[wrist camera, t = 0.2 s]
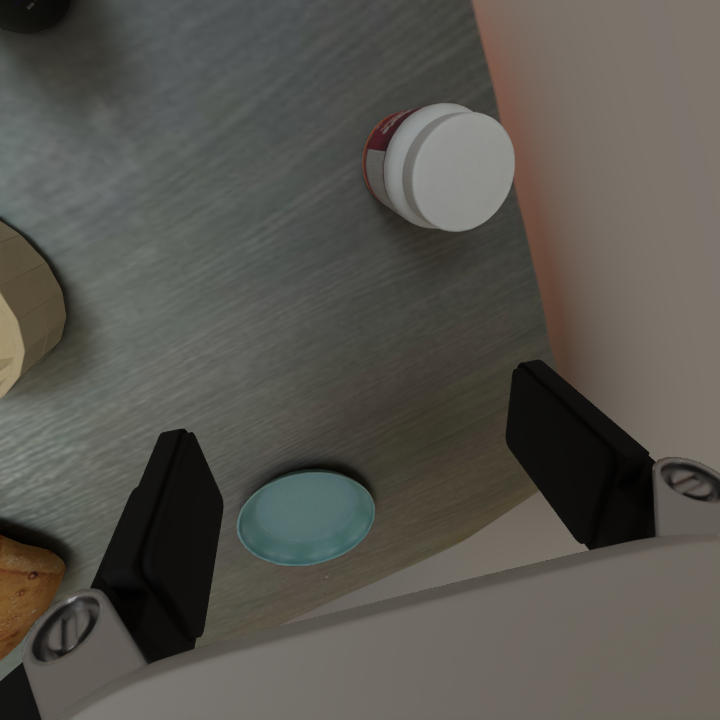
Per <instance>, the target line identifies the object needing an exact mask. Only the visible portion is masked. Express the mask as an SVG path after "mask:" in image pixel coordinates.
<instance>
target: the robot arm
mask: <svg viewBox="0 0 720 720" xmlns="http://www.w3.org/2000/svg"><path fill="white" fill-rule="evenodd" d="M506 443H507V445H508V447H509V449H510V450H511V452H512V453H513V454H514V456H515V457H516V459H517V460H518V461H519V463H520V464H521V465H522V467H523V468H524V470H525V471H526V472H527V474H528V475H529V476H530V478H531V479H532V481H533V482H534V483H535V485H536V486H537V487H538V489H539V490H540V491H541V493H542V494H543V496H544V497H545V498H546V500H547V501H548V502H549V504H550V505H551V507H552V508H553V509H554V511H555V512H556V513H557V515H558V516H559V518H560V519H561V520H562V522H563V523H564V524H565V526H566V527H567V528H568V530H569V531H570V532H571V534H572V535H573V537H574V538H575V539H576V540H577V541H578V542H579V543H581V544H585V545H586V547H587V548H588V549H589V551H585V552H580V553H576V554H572V555H567V556H563V557H559V558H555V559H551V560H546V561H543V562H538V563H534V564H530V565H526V566H522V567H518V568H513V569H509V570H505V571H500V572H496V573H492V574H488V575H484V576H480V577H476V578H472V579H468V580H463V581H459V582H455V583H451V584H447V585H443V586H439V587H435V588H431V589H427V590H423V591H418V592H414V593H411V594H406V595H402V596H398V597H394V598H390V599H386V600H383V601H378V602H374V603H370V604H366V605H362V606H358V607H354V608H350V609H346V610H342V611H338V612H334V613H330V614H326V615H322V616H318V617H314V618H310V619H306V620H303V621H298V622H294V623H290V624H286V625H282V626H278V627H274V628H270V629H266V630H262V631H259V632H255V633H251V634H248V635H244V636H240V637H236V638H233V639H229V640H225V641H222V642H218V643H214V644H211V645H207V646H203V647H199V648H196V649H194V647H195V642H196V638H198V637H201V636H202V634H203V632H204V627H205V621H206V614H207V608H208V602H209V596H210V590H211V583H212V577H213V571H214V565H215V558H216V552H217V546H218V540H219V534H220V527H221V521H222V515H223V499H222V495H221V493H220V491H219V489H218V486H217V484H216V482H215V480H214V477H213V475H212V473H211V471H210V468H209V466H208V464H207V461H206V459H205V457H204V455H203V452H202V450H201V448H200V446H199V443H198V441H197V439H196V436H195V435H194V433H193V432H190V433H188V432H187V431H186V430H185V429H178V430H172V431H167V432H163V433H161V434H160V436H159V438H158V440H157V443H156V445H155V447H154V450H153V452H152V455H151V457H150V459H149V462H148V464H147V467H146V469H145V471H144V474H143V476H142V479H141V481H140V483H139V486H138V487H136V488H135V489H134V490H133V491H132V493H131V494H130V497H129V499H128V501H127V504H126V506H125V508H124V510H123V513H122V515H121V517H120V520H119V522H118V524H117V527H116V529H115V531H114V534H113V536H112V538H111V541H110V543H109V545H108V548H107V550H106V552H105V555H104V557H103V559H102V562H101V564H100V566H99V569H98V571H97V573H96V576H95V578H94V580H93V583H92V585H91V587H90V589H83V590H79V591H77V592H74V593H72V594H70V595H68V596H66V597H65V598H63V599H61V600H60V601H58V602H57V603H55V604H54V605H53V606H52V607H51V608H50V609H49V610H47V611H46V612H45V613H44V614H43V615H42V616H41V618H40V619H39V620H38V621H37V622H36V624H35V625H34V626H33V628H32V629H31V631H30V633H29V634H28V636H27V638H26V640H25V643H24V647H23V650H22V660H23V662H22V663H21V664H20V665H19V666H17V667H16V668H15V669H14V670H13V671H12V672H11V673H9V674H8V675H7V676H6V677H5V678H4V679H2V680H1V681H0V720H720V473H718V472H717V471H715V470H714V469H712V468H710V467H708V466H706V465H704V464H702V463H700V462H696V461H694V460H691V459H687V458H680V457H666V458H663V459H660V460H658V461H657V462H655V461H654V460H653V459H652V458H651V457H650V456H648V455H649V452H648V451H647V450H646V449H645V448H643V447H642V446H641V445H640V444H639V443H638V442H637V441H635V440H634V439H633V438H632V437H631V436H630V435H628V434H627V433H626V432H625V431H624V430H623V429H621V428H620V427H619V426H618V425H617V424H616V423H614V422H613V421H612V420H611V419H610V418H608V417H607V416H606V415H605V414H604V413H603V412H601V411H600V410H599V409H598V408H597V407H596V406H594V405H593V404H592V403H591V402H590V401H589V400H587V399H586V398H585V397H584V396H583V395H582V394H580V393H579V392H578V391H577V390H576V389H574V388H573V387H572V386H571V385H570V384H569V383H568V382H566V381H565V380H564V379H563V378H562V377H561V376H559V375H558V374H557V373H556V372H555V371H554V370H552V369H551V368H550V367H549V366H548V365H547V364H545V363H544V362H543V361H541V360H533V361H528V362H523V363H520V364H519V365H518V367H517V369H514V371H513V374H512V383H511V392H510V401H509V410H508V418H507V427H506Z"/></svg>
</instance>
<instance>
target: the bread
mask: <svg viewBox="0 0 720 720" xmlns="http://www.w3.org/2000/svg"><path fill="white" fill-rule="evenodd" d="M64 573H65V564H64V562H63V560H62V559H61V558H59V557H58V556H56V555H55V554H54V553H53V552H52V551H50V550H47V549H43V548H39V547H35V546H30V545H25V544H21V543H19V542H16V541H14V540H11V539H9V538H6V537H4V536H3V535H1V534H0V661H1V660H2V659H3V658H4V657H5V656H7V655H8V654H9V653H10V652H11V651H12V650H13V649H14V648H15V647H16V646H17V645H18V644H19V643H20V642H21V641H22V640H23V638H24V637H25V636H26V634H27V633H28V632H29V630H30V628H31V627H32V625H33V623H34V621H35V620H37V619H38V618H39V617H41V616H42V615H43V613H44V612H45V611H46V610H47V609H48V608H49V606H50V604H51V603H52V601H53V599H54V597H55V595H56V593H57V591H58V588H59V586H60V584H61V581H62V578H63V576H64Z"/></svg>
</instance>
